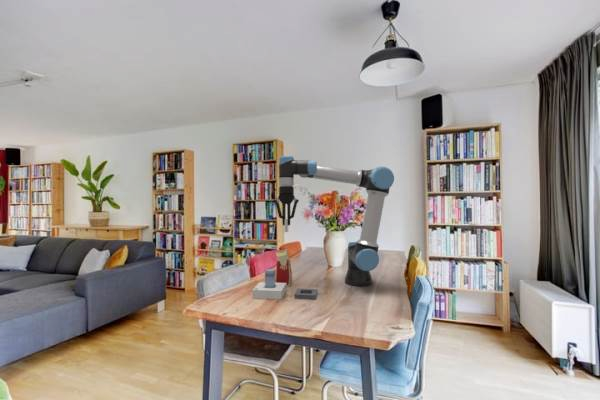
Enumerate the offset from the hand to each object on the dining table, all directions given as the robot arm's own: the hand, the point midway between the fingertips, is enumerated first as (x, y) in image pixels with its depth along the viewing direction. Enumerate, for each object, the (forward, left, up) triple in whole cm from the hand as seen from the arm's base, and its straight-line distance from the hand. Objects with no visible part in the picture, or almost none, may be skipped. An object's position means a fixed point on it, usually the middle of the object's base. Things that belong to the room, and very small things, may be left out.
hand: (286, 231), depth 152 cm
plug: (+7, +7, -30) cm, 32 cm away
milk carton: (+4, -12, -31) cm, 33 cm away
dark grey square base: (-11, +7, -30) cm, 33 cm away
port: (+7, +7, -30) cm, 32 cm away
